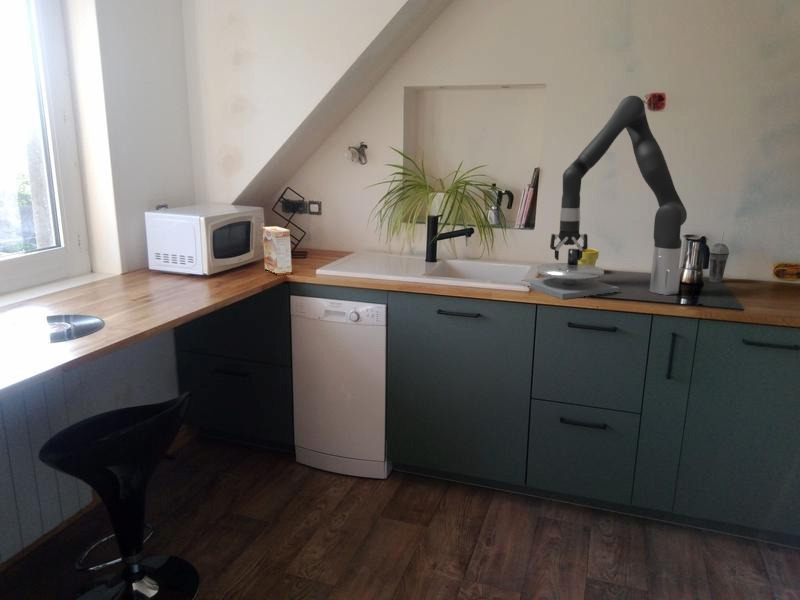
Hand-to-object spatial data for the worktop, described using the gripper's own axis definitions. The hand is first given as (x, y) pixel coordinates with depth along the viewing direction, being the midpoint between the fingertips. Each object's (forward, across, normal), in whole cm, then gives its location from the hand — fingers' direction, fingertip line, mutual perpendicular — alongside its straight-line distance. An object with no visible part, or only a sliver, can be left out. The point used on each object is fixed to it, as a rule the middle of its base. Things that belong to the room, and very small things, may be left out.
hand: (568, 259), depth 242 cm
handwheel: (+3, +1, +10) cm, 11 cm away
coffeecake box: (+8, +123, -8) cm, 124 cm away
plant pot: (+10, -11, -24) cm, 28 cm away
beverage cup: (+11, -61, -11) cm, 63 cm away
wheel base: (+10, +1, +10) cm, 14 cm away
